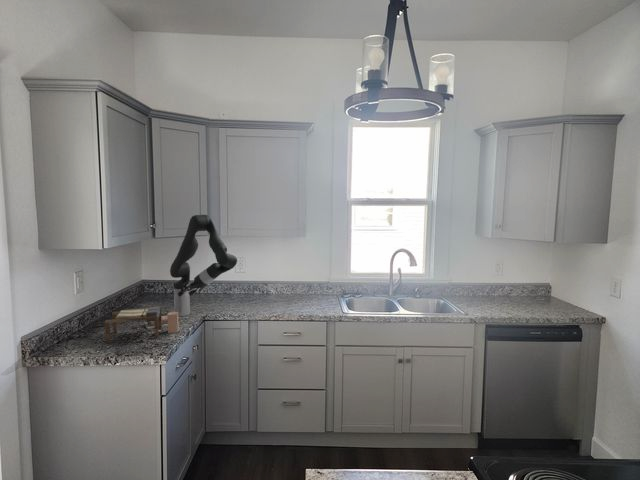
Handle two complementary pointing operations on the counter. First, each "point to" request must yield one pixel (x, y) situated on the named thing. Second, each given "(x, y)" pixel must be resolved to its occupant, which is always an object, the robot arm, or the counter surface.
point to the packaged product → (164, 322)
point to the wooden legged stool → (107, 326)
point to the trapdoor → (139, 313)
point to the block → (172, 322)
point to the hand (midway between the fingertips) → (184, 294)
